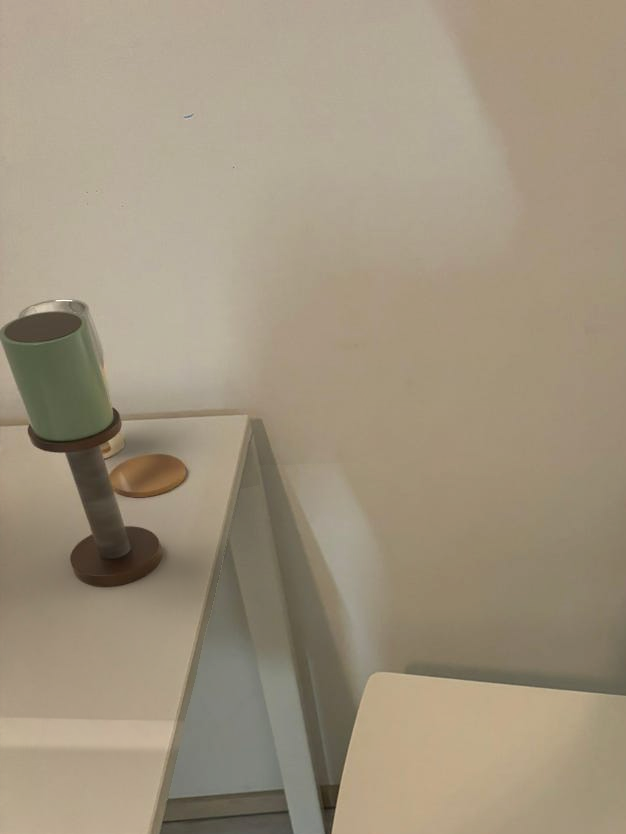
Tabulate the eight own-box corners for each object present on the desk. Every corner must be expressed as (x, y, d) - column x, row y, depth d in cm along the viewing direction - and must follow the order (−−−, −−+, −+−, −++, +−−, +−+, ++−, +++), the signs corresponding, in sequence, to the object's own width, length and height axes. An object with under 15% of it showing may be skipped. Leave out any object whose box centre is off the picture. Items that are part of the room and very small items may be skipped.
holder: (60, 586, 83) (7, 445, 74) (91, 535, 89) (45, 399, 80) (147, 587, 83) (105, 446, 74) (172, 536, 89) (135, 400, 79)
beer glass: (137, 451, 101) (100, 315, 91) (72, 470, 98) (26, 331, 88) (117, 425, 105) (78, 292, 95) (54, 443, 102) (8, 308, 92)
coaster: (99, 496, 94) (98, 491, 94) (123, 458, 100) (122, 453, 99) (174, 497, 94) (173, 492, 93) (194, 459, 100) (193, 454, 99)
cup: (19, 441, 74) (-17, 343, 69) (50, 403, 79) (18, 309, 74) (99, 442, 74) (69, 344, 69) (125, 404, 79) (98, 310, 74)
